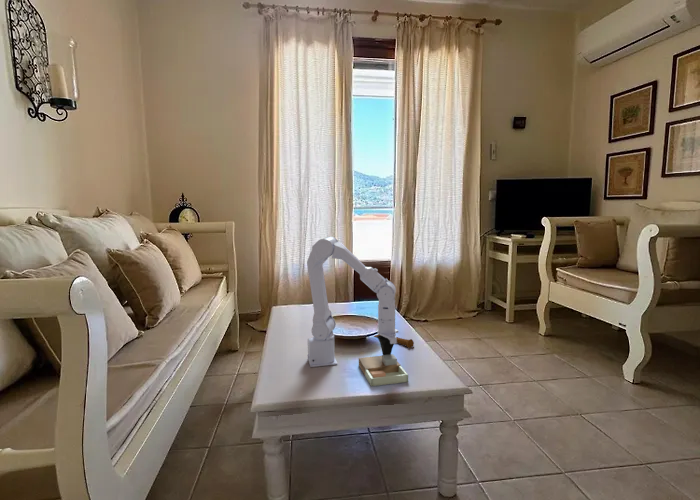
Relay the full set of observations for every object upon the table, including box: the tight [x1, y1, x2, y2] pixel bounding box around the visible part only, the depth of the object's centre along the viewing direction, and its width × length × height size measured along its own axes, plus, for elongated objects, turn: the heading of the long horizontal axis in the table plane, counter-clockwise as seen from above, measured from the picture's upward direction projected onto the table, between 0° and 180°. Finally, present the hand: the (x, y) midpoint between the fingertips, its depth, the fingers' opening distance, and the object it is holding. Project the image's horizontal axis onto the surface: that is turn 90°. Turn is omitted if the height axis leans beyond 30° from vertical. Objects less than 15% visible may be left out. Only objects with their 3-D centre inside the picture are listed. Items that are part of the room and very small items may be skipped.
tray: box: [364, 365, 409, 387], centre depth 125 cm, size 12×7×2 cm, turn 103°
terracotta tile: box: [370, 371, 386, 378], centre depth 124 cm, size 4×4×2 cm
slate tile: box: [381, 353, 398, 366], centre depth 132 cm, size 4×4×2 cm
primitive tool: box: [373, 333, 415, 349], centre depth 159 cm, size 19×6×4 cm, turn 42°
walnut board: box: [358, 355, 402, 376], centre depth 133 cm, size 12×9×3 cm
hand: (386, 356), depth 135 cm, fingers closed
